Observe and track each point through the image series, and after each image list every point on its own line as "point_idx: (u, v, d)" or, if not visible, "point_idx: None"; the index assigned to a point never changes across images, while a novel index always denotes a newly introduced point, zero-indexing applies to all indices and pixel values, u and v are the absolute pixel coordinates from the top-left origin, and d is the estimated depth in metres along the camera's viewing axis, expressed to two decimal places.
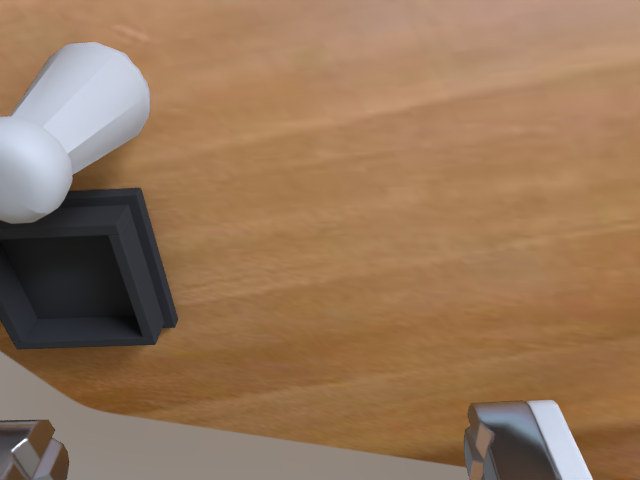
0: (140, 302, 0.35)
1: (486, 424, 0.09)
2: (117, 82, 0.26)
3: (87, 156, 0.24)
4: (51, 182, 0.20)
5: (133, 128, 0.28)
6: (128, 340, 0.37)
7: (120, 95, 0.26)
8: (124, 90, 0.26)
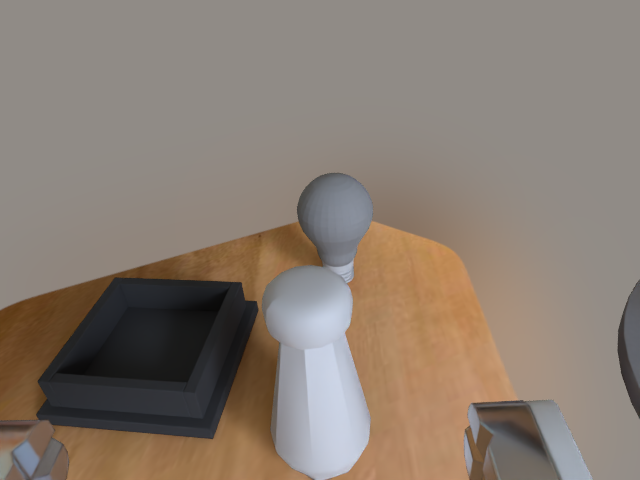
0: (97, 384, 0.32)
1: (486, 424, 0.09)
2: (336, 440, 0.26)
3: (289, 375, 0.25)
4: (295, 320, 0.22)
5: (287, 440, 0.27)
6: (61, 359, 0.34)
7: (324, 436, 0.26)
8: (327, 443, 0.26)
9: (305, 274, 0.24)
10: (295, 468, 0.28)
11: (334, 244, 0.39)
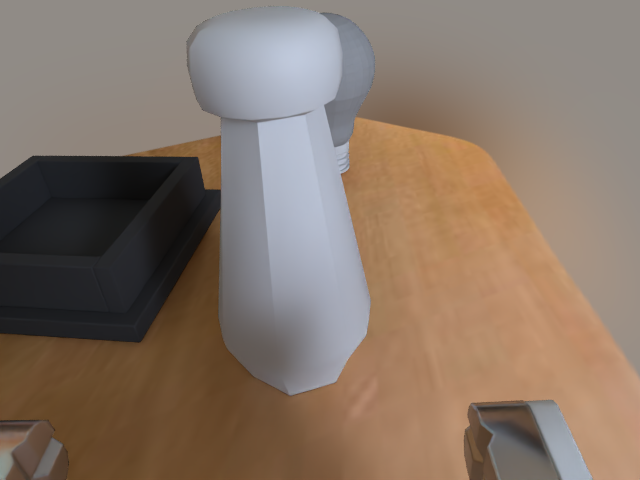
0: None
1: (486, 424, 0.09)
2: (315, 313, 0.16)
3: (236, 193, 0.15)
4: (236, 49, 0.12)
5: (239, 317, 0.17)
6: None
7: (296, 305, 0.16)
8: (300, 317, 0.16)
9: (262, 8, 0.14)
10: (252, 366, 0.18)
11: None
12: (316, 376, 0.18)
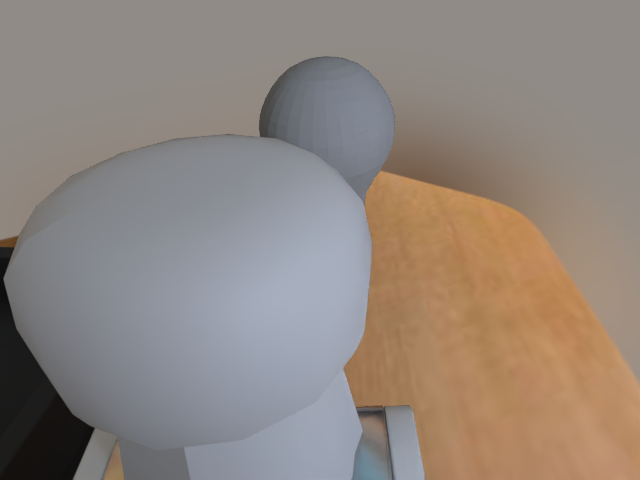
0: None
1: None
2: None
3: None
4: (98, 322, 0.04)
5: None
6: None
7: None
8: None
9: (196, 150, 0.06)
10: None
11: None
12: None
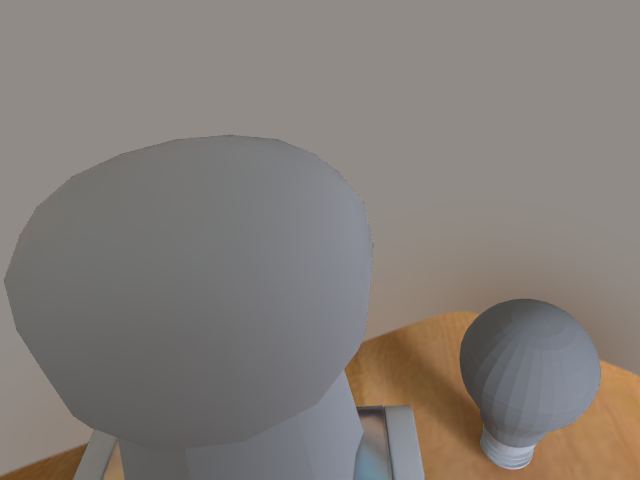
0: None
1: None
2: None
3: None
4: (99, 324, 0.04)
5: None
6: None
7: None
8: None
9: (196, 151, 0.06)
10: None
11: (538, 432, 0.22)
12: None
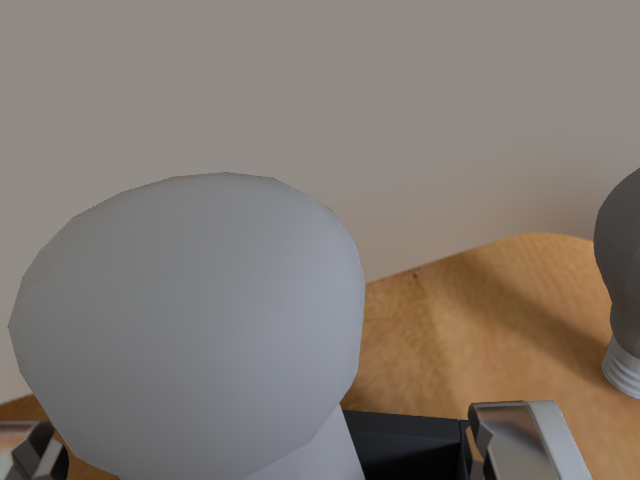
0: None
1: (486, 424, 0.09)
2: None
3: None
4: (100, 376, 0.05)
5: None
6: None
7: None
8: None
9: (194, 193, 0.07)
10: None
11: None
12: None
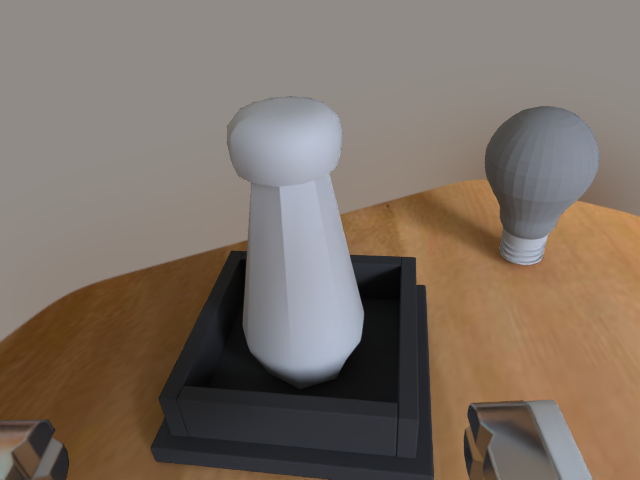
0: (256, 405, 0.20)
1: (486, 424, 0.09)
2: (321, 325, 0.21)
3: (261, 235, 0.20)
4: (266, 139, 0.17)
5: (261, 328, 0.22)
6: (186, 364, 0.22)
7: (306, 319, 0.21)
8: (309, 328, 0.21)
9: (282, 100, 0.19)
10: (271, 365, 0.23)
11: (549, 204, 0.28)
12: (321, 373, 0.23)
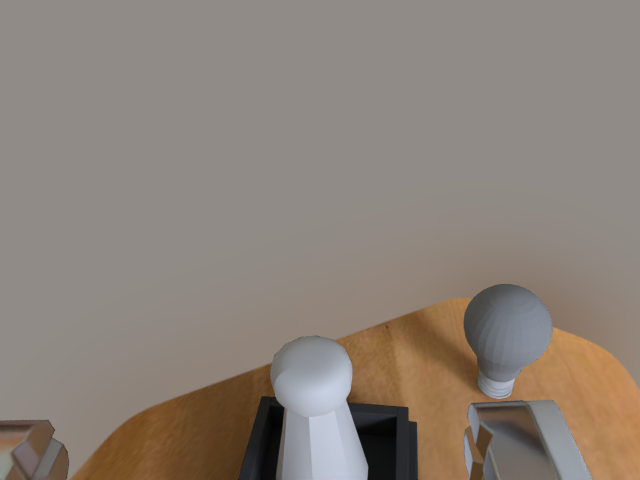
0: None
1: (486, 424, 0.09)
2: None
3: (294, 436, 0.28)
4: (301, 393, 0.25)
5: None
6: None
7: None
8: None
9: (310, 346, 0.27)
10: None
11: (513, 366, 0.35)
12: None
